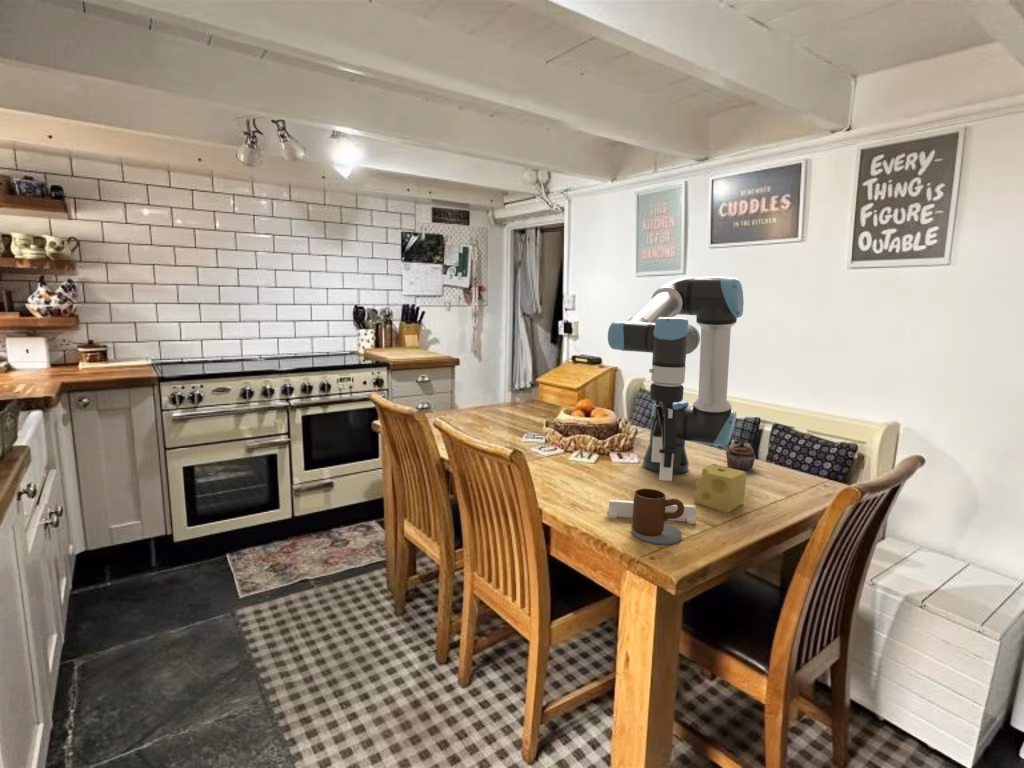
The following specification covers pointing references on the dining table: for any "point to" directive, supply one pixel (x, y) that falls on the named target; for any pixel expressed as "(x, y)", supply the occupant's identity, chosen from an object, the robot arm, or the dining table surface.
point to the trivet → (661, 536)
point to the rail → (626, 510)
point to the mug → (653, 511)
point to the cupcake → (740, 455)
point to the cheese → (720, 488)
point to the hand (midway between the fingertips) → (660, 470)
